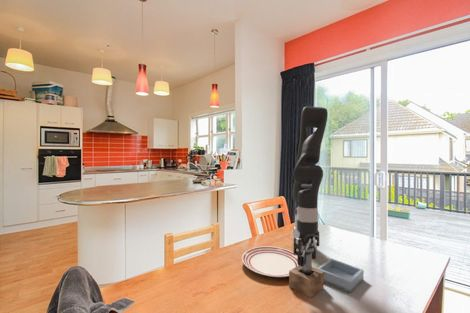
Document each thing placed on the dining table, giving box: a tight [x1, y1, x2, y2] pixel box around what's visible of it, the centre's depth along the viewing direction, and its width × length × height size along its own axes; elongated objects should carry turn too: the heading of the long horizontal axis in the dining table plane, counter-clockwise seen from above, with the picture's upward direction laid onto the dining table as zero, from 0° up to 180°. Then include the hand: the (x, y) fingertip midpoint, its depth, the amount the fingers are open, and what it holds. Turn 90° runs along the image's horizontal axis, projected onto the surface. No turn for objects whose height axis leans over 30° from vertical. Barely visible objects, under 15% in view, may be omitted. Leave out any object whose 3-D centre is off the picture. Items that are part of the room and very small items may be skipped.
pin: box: [301, 246, 314, 276], centre depth 86 cm, size 5×5×15 cm
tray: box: [316, 258, 364, 294], centre depth 92 cm, size 13×13×4 cm
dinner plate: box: [241, 245, 298, 278], centre depth 103 cm, size 27×27×3 cm
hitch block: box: [288, 265, 325, 299], centre depth 86 cm, size 9×9×6 cm
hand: (306, 261), depth 86 cm, fingers open, 8 cm apart
